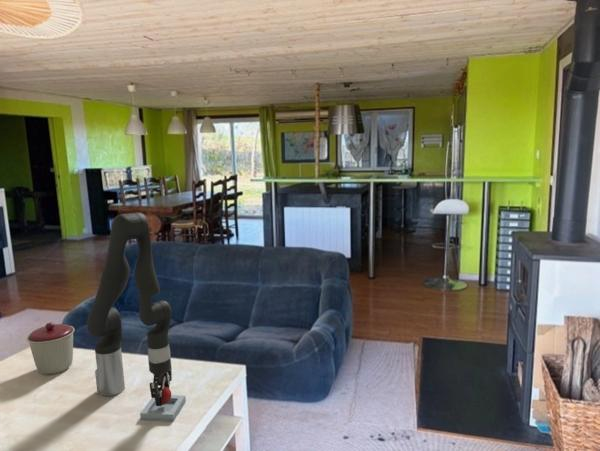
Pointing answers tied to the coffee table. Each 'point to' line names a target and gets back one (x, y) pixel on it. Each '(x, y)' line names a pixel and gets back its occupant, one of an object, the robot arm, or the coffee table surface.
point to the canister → (52, 347)
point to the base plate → (163, 409)
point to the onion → (165, 395)
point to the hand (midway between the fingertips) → (162, 400)
